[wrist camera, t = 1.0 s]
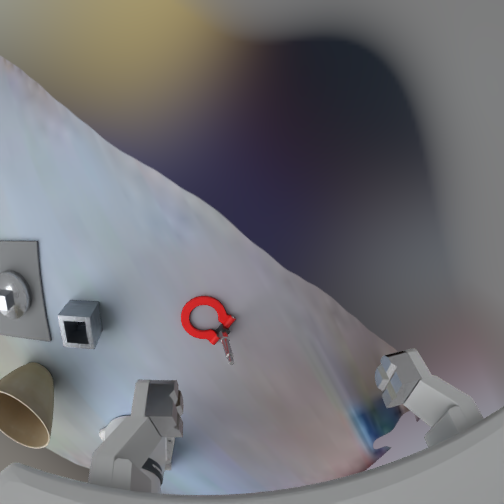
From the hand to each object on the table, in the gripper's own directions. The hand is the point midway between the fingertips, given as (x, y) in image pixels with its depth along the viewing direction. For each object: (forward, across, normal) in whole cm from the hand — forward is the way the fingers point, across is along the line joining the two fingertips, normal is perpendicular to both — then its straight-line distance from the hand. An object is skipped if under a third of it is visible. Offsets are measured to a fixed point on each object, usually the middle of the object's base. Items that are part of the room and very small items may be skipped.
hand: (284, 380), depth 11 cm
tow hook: (+35, -6, -29) cm, 46 cm away
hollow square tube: (+32, -29, -25) cm, 50 cm away
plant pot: (+26, -46, -38) cm, 65 cm away
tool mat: (+31, -50, -18) cm, 62 cm away
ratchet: (+31, -50, -18) cm, 62 cm away
